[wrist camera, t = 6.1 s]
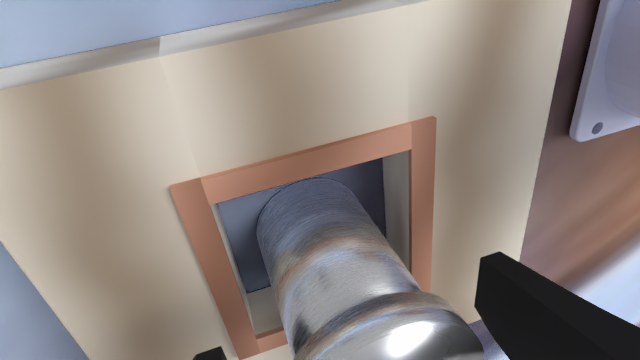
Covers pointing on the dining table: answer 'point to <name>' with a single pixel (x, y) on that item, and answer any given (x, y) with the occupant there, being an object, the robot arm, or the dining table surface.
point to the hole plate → (268, 158)
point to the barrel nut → (350, 284)
